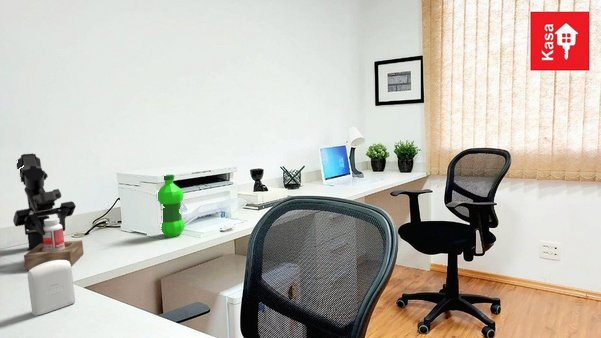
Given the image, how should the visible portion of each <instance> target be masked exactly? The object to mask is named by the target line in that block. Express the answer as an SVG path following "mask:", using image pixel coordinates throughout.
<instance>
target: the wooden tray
mask: <svg viewBox="0 0 601 338" xmlns="http://www.w3.org/2000/svg"><path fill="white" fill-rule="evenodd" d="M64 244H65V248H64V249H63V250H59V251H47V252H45V250H44V243H43V244H39V245H38V246H36V247H35V248H34V249H32V250H28V252H27V253H25V254H24V255H23V258H24V269H25V271H26V270H30V269H32V268H34V267H36V266H38V265H40V264H43V263H46V262H49V261H54V260H67V261H69V262H70V264H71V268H72V267H73V266H74V264H76V262H78V261H79V260H80V259H81V257H83V255H85V254H84V243H83V239H82V240H80V239H79V240H69V241H64Z"/></svg>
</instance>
